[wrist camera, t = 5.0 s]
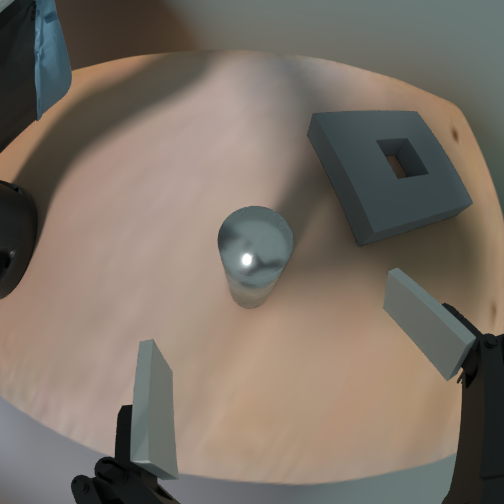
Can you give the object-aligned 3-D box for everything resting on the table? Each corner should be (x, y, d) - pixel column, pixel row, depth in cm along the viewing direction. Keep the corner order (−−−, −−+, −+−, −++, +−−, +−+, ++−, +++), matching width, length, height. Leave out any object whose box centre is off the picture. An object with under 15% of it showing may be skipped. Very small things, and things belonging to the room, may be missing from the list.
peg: (236, 312, 22) (228, 286, 11) (226, 276, 23) (210, 216, 12) (273, 302, 23) (303, 265, 11) (262, 267, 23) (279, 199, 12)
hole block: (358, 246, 24) (374, 232, 21) (307, 134, 28) (312, 113, 25) (456, 215, 26) (473, 203, 23) (406, 127, 30) (416, 111, 27)
